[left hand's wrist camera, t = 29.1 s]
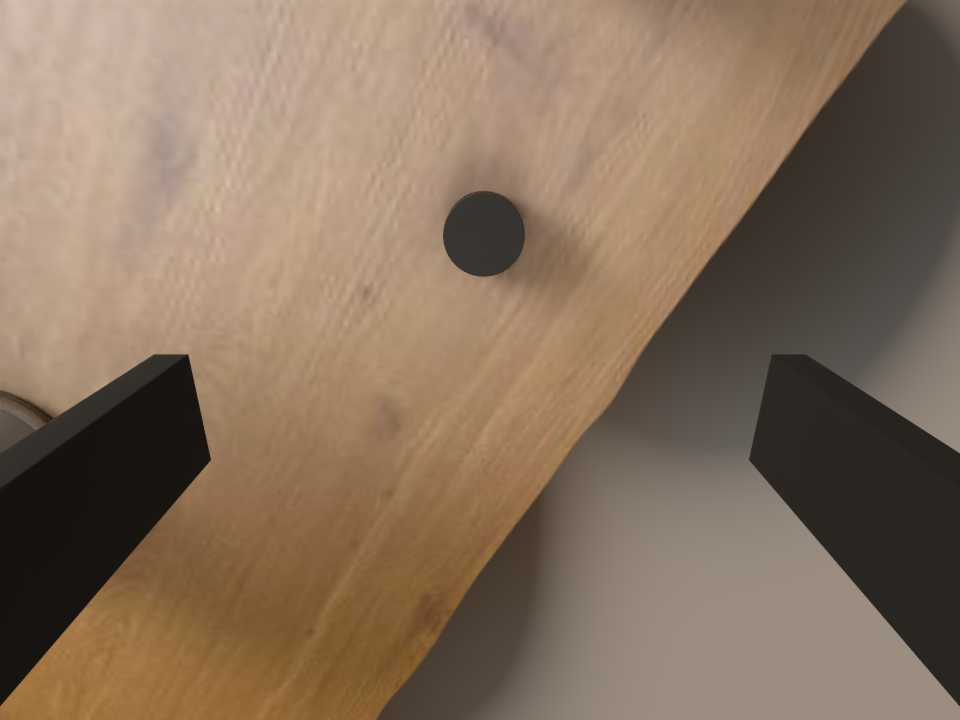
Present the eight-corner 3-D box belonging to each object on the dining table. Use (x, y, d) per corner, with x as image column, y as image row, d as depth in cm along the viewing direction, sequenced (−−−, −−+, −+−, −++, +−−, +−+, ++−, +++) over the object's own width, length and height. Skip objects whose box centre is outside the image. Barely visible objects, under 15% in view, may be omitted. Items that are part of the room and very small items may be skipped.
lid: (439, 196, 37) (437, 200, 35) (517, 185, 37) (520, 188, 34) (451, 273, 39) (449, 281, 37) (525, 263, 39) (528, 271, 36)
